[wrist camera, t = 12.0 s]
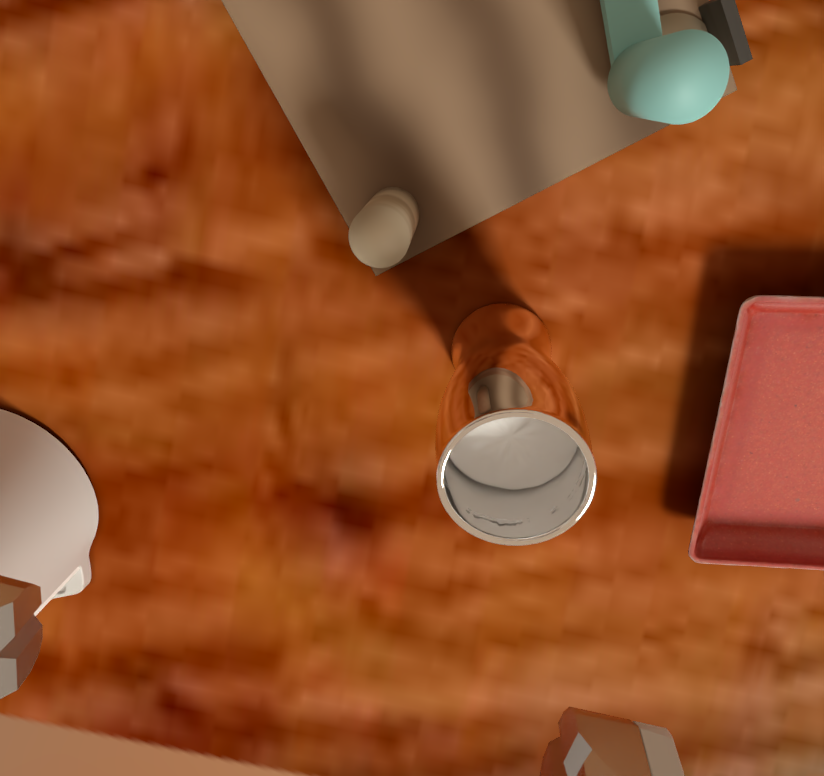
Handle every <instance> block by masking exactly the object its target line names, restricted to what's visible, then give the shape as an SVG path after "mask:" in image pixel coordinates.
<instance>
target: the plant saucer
mask: <svg viewBox="0 0 824 776" xmlns="http://www.w3.org/2000/svg"><path fill="white" fill-rule="evenodd" d="M688 554H689V557H690V558H691V559H692V560H693V561H695V562H697V563H705V564H722V565H742V566H761V567H776V568H795V569H813V570H824V297H818V296H785V295H756V296H752V297H750V298H748V299H746V300H745V301H744V302H743V303H742V305H741V307H740V309H739V313H738V318H737V322H736V328H735V333H734V337H733V341H732V346H731V351H730V356H729V361H728V366H727V371H726V375H725V380H724V385H723V390H722V395H721V399H720V404H719V409H718V414H717V419H716V423H715V428H714V432H713V437H712V442H711V447H710V451H709V455H708V460H707V465H706V470H705V475H704V479H703V484H702V489H701V494H700V498H699V503H698V508H697V512H696V517H695V522H694V526H693V531H692V535H691V540H690V545H689V551H688Z"/></svg>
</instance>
